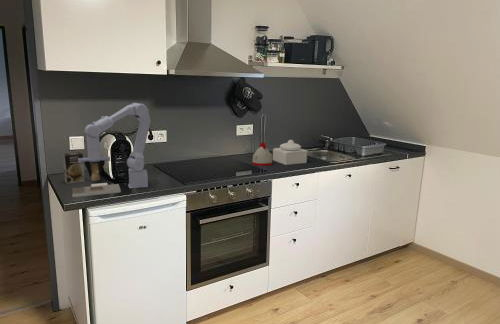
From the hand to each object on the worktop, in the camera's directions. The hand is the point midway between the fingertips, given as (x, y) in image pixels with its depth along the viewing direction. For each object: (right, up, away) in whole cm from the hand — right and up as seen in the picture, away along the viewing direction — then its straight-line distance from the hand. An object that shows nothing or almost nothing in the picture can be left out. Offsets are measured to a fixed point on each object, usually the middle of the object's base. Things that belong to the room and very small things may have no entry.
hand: (95, 175), depth 192 cm
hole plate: (0, -8, +2) cm, 9 cm away
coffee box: (-19, -4, +20) cm, 28 cm away
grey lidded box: (+105, +7, +82) cm, 134 cm away
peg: (0, -2, +1) cm, 2 cm away
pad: (-3, -6, +13) cm, 14 cm away
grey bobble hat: (+85, +6, +74) cm, 113 cm away
